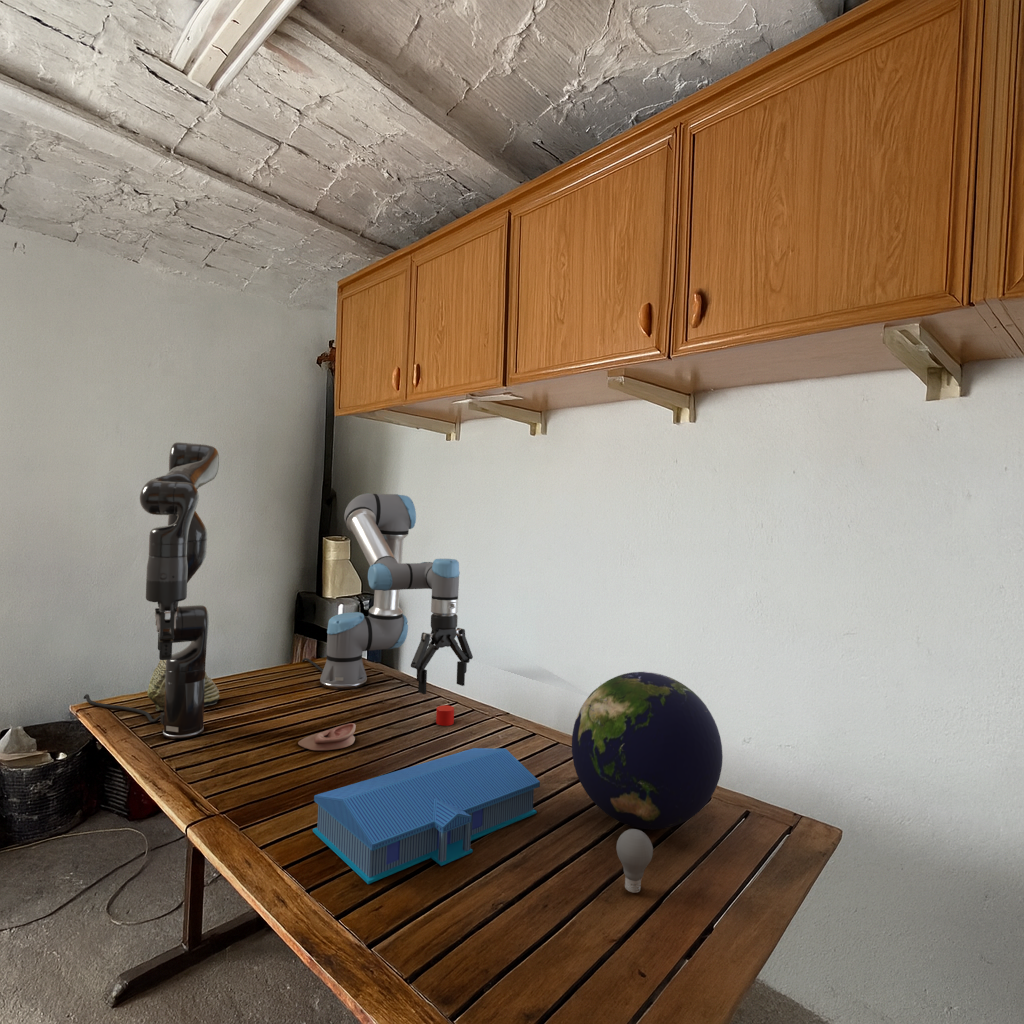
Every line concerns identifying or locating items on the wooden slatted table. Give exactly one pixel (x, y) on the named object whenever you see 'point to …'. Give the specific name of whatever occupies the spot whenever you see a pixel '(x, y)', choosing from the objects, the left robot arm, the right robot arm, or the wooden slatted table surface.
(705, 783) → the globe
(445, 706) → the tin
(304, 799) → the wooden slatted table surface
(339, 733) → the anatomical model
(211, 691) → the fossil
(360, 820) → the model building
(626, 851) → the light bulb
